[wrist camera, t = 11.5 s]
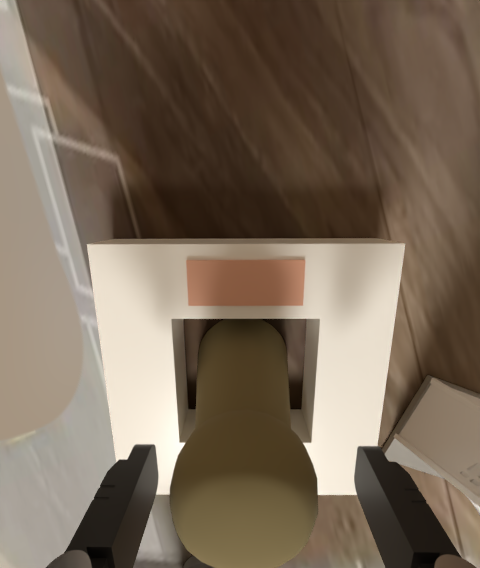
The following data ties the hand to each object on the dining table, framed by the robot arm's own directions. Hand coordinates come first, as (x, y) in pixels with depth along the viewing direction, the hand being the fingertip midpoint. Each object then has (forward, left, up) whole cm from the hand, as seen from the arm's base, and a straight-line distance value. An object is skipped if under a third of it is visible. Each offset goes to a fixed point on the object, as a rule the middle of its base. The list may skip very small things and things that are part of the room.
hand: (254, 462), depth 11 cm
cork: (0, 0, -8) cm, 8 cm away
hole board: (0, 0, -8) cm, 8 cm away
